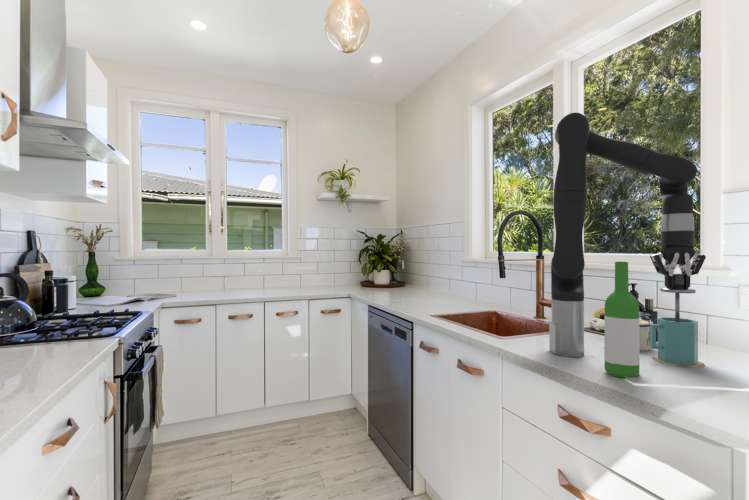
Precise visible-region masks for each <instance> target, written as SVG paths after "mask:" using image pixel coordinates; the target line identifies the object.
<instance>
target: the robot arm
mask: <svg viewBox="0 0 749 500" xmlns="http://www.w3.org/2000/svg"><path fill="white" fill-rule="evenodd" d="M590 127H591V126H590V121H589V119H588V118H587V117H586V116H585V115H584V114H583V113H579V112H572V113H568V114H566V115H564V117H562V118H561V120H560V121H559V122H558V124H557V126H556V129H555V132H554V139H555V142H556V143H557V145H558V156H559V157H558V165H557V170H556V174H555V180H554V187H553V200H552V201H553V204H552V205H553V218H554V228H555V241H554V250H553V256H552V258H551V262H550V263H551V264H550V270H551V271H550V273H551V274H550V275H551V276H550V277H551V284H550V287H551V290H550V291H551V293H550V295H551V297H550V298H551V303H550V304H551V305H550V306H551V310H550V311H551V320H550V321H549V325H548V326H549V329H548V330H549V331H548V333H549V336H548V337H549V342H548V343H549V345H548V346H549V351H550V352H551V353H553V355H556V356H562V357H569V358H581V357H584V356H585V291H584V269H585V264H586V263H585V254H584V248H583V247H584V245H583V243H584V242H583V231H584V224H585V220H586V212H587V211H586V210H587V198H588V197H587V194H588V193H587V192H588V190H587V189H588V187H587V182H588V181H587V164H586V163H587V162H586V159H587V158H586V157H587V154H590V155H593V156H596V157H599V158H602V159H605V160H607V161H610V162H613V163H614V164H617V165H619V166H622V167H625V168H626V169H629V170H632V171H635V172H637V173H638V174H639V173H640V174H642V175H643V174H644V175H649V174H650V175H654V176H657V177H658V186H659V187H658V188H659V193H660V196H661V199H662V203H661V221H660V222H661V223H660V245H661V250H660V251H659V252H658V253H656V254H651V255H649V257H650V260H651V262H652V264H653V266H654V268H655V271H656V273H657V274H660V275H663V276H664V288H667V289H674V277H673V274H675V269H677V266H678V269H680V274H684V277H685V289H690V288H691V277H692V276H693V275H698V274H699V273H700V271H701V268H702V266H703V264H704V262H705V260H706V257H707V256H706V255H705V254H700V253H697V252H696V250H695V249H694V247H695V246H694V245H695V218H694V199H693V196H692V195H691V194H689V192H688V191H689V190H688V183H690V182H691V181H693V180H694V179H695V178H696V176H697V174H698V167H697V166H696V164H695V163H694V162H693V161H691V160H689V159H687V158H684V157H681V156H679V155H678V156H677V155H673V154H668V153H664V152H659V151H656V150H654V149H651V148H650V147H649V148H648V147H646V146H643V145H641V144H638V143H635V142H633V141H628V140H621V139H615V138H610V137H608V136H607V137H606V136H603V135H600V134H598V133H596V132H594V131H592V130H590V129H591V128H590ZM663 260H664V264H663ZM691 260H692V262H691Z"/></svg>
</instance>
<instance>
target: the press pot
mask: <svg viewBox="0 0 749 500" xmlns="http://www.w3.org/2000/svg"><path fill="white" fill-rule="evenodd" d="M673 321H675V317H666V316H663V317H662V316H661V317H658V318H657V323H650V326H649V349H652V350H657V355H658V359H660V360H662V361H664V362H666V363H671V364H676V365H685V366H695V365H696V364H698V361H699V332H698V331H699V321H697V320H693V319H689V318H681V317H680V322H673Z"/></svg>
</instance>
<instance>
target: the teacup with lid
mask: <svg viewBox="0 0 749 500" xmlns="http://www.w3.org/2000/svg"><path fill="white" fill-rule="evenodd" d="M650 324H651V323H650V322H649V321H647V320H644V319H642V318H641V317H639V343H640V351H649V350H650Z"/></svg>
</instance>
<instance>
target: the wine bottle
mask: <svg viewBox="0 0 749 500" xmlns="http://www.w3.org/2000/svg"><path fill="white" fill-rule="evenodd" d="M639 318H640V304H639V301H638V299H637V298H636V297H635V295H633V294H632V293H631V292H630V291H629V262H628V261H615V262H614V291H613V292H612V293H610V294H609V295H608V296H607V297H606V299H605V302H604V343H603V344H604V347H603V348H604V349H603V350H604V356H603V357H604V370H605V372H606V373H607V374H609V375H610V376H614V377H617V378H620V379H627V378H637V377H639V376H640V364H641V363H640V358H641V357H640V351H641V350H640V343H639Z"/></svg>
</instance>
